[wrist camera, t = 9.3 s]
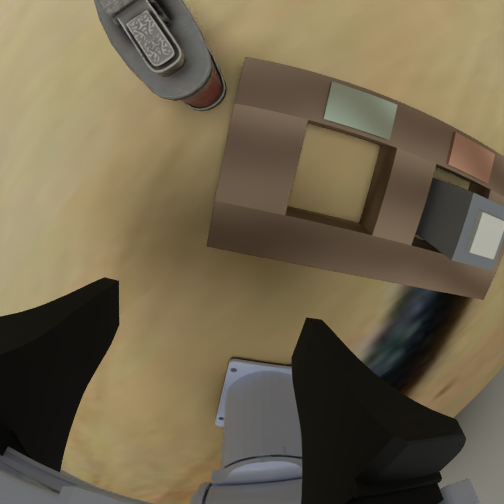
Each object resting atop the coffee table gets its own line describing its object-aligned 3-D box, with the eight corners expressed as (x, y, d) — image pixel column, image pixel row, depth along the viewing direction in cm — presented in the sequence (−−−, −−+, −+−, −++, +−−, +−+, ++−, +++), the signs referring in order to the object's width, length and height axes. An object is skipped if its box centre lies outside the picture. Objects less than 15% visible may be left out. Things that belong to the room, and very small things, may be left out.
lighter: (132, 29, 15) (51, -27, 6) (176, 2, 14) (123, -77, 5) (191, 121, 18) (132, 113, 8) (239, 93, 17) (225, 54, 8)
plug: (446, 238, 21) (495, 273, 15) (407, 227, 20) (455, 263, 14) (461, 189, 19) (516, 213, 13) (422, 174, 19) (477, 194, 13)
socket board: (468, 286, 22) (485, 301, 19) (211, 232, 20) (205, 248, 18) (508, 167, 18) (530, 173, 15) (246, 66, 16) (245, 55, 14)
